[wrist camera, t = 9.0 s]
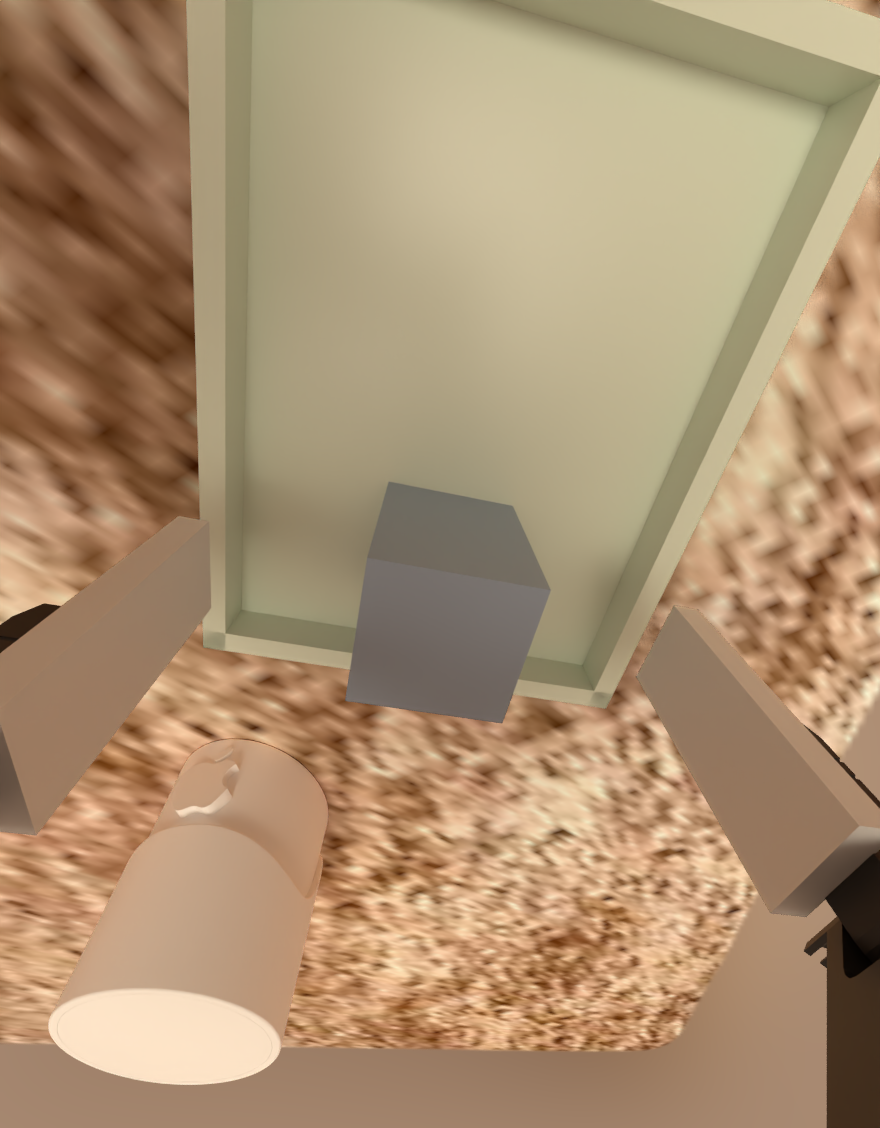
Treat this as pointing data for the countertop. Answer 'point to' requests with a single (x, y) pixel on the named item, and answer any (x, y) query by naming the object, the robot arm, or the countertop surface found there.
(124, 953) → the mug
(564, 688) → the tray
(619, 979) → the countertop surface
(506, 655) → the grey rectangular block
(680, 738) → the robot arm
